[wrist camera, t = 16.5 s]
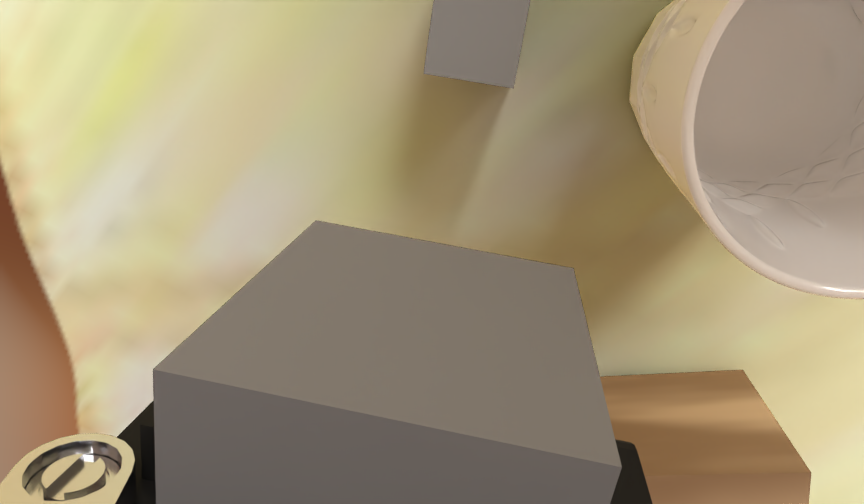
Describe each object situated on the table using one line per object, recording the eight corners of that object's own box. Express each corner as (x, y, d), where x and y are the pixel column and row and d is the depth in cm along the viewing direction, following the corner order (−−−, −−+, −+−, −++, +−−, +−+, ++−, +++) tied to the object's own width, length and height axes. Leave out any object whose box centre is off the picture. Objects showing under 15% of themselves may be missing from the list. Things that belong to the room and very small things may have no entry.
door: (738, 395, 25) (810, 512, 19) (412, 408, 27) (381, 516, 21) (740, 361, 24) (813, 470, 18) (406, 377, 27) (373, 479, 20)
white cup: (692, -92, 19) (854, -209, 10) (907, 16, 19) (1263, 1, 10) (570, 130, 22) (608, 201, 13) (759, 223, 22) (931, 358, 13)
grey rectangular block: (573, 268, 10) (622, 467, 5) (505, 537, 12) (499, 845, 8) (316, 220, 10) (152, 370, 6) (293, 489, 13) (161, 759, 8)
